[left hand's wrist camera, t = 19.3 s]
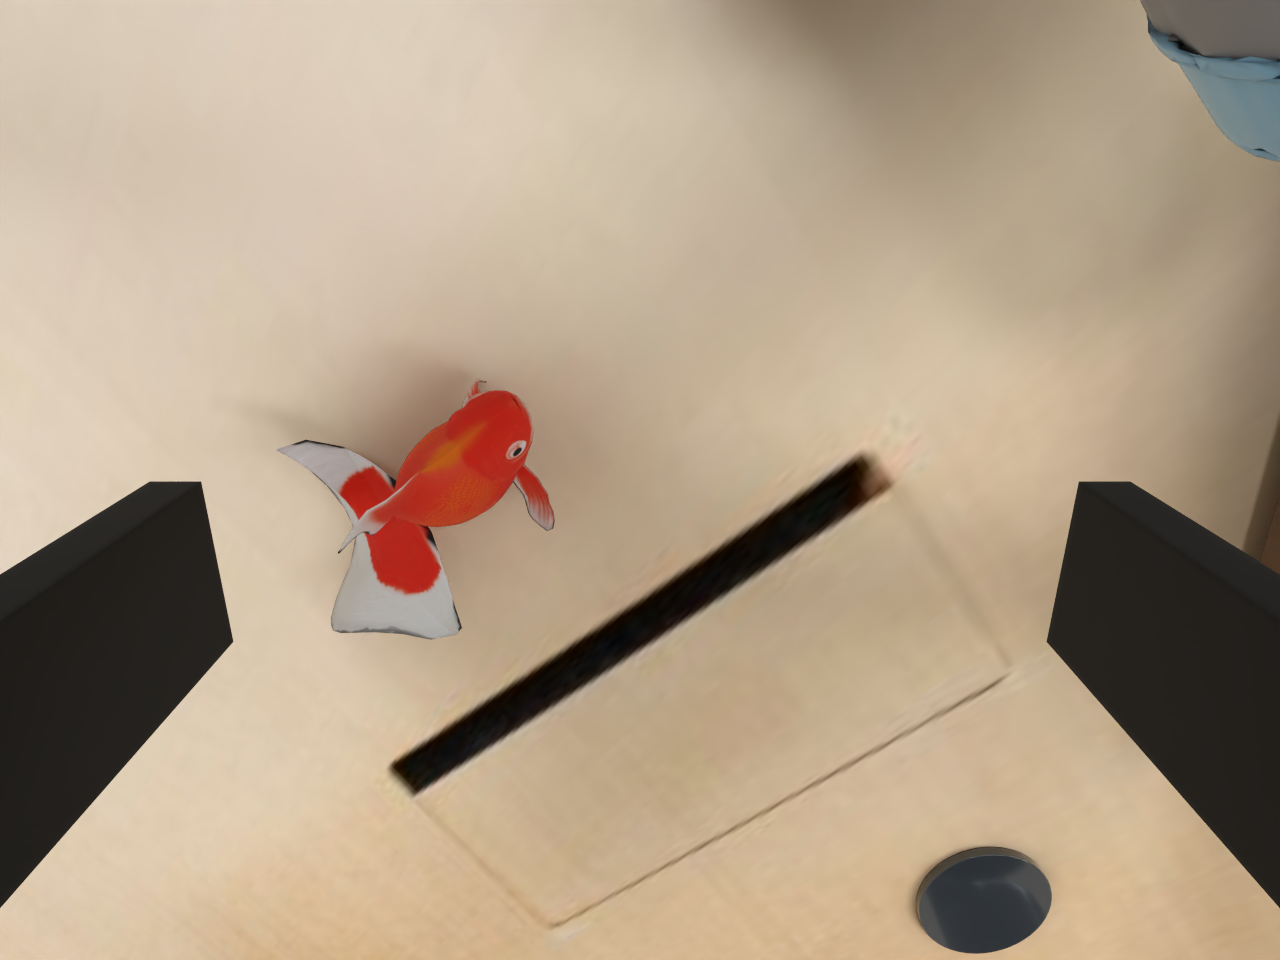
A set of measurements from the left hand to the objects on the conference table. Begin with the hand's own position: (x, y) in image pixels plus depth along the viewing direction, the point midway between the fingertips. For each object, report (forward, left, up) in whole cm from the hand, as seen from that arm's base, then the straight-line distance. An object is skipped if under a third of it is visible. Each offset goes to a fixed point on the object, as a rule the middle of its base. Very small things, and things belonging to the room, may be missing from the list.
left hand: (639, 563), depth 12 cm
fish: (+9, -10, -27) cm, 30 cm away
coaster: (+36, +21, -27) cm, 49 cm away
